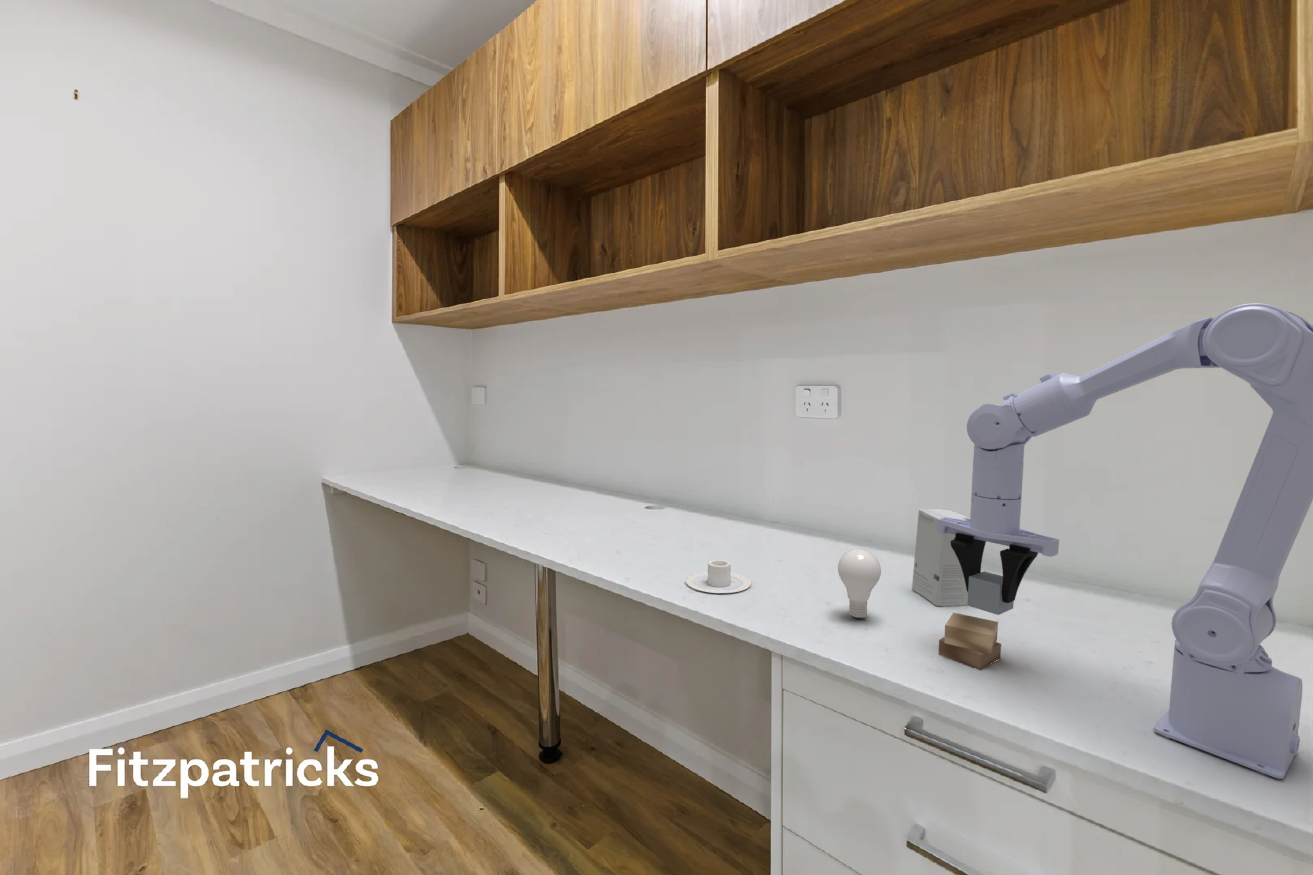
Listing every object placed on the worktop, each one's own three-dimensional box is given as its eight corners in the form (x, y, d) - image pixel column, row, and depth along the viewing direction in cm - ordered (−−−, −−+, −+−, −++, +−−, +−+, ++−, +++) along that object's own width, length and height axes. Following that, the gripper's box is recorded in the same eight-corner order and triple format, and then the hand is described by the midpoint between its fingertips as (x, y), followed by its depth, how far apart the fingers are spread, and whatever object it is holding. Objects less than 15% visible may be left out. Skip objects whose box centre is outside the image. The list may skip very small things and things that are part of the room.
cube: (1013, 608, 79) (1014, 579, 78) (998, 615, 76) (1000, 585, 76) (982, 599, 82) (984, 571, 82) (967, 605, 80) (969, 576, 79)
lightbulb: (871, 629, 88) (874, 558, 87) (830, 619, 92) (832, 550, 91) (884, 616, 94) (886, 548, 92) (844, 607, 97) (846, 541, 96)
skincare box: (911, 590, 105) (914, 508, 104) (943, 589, 106) (947, 507, 105) (938, 608, 97) (942, 519, 96) (972, 606, 98) (977, 518, 96)
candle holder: (672, 584, 110) (672, 561, 110) (717, 570, 118) (717, 549, 117) (718, 602, 101) (719, 577, 100) (764, 586, 108) (765, 563, 108)
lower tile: (1000, 661, 79) (1001, 643, 79) (979, 673, 76) (980, 654, 76) (959, 646, 84) (960, 629, 83) (938, 657, 81) (939, 639, 80)
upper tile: (997, 639, 80) (998, 621, 80) (991, 654, 76) (991, 635, 76) (952, 629, 84) (953, 612, 83) (944, 642, 79) (945, 624, 79)
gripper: (1072, 501, 74) (1064, 606, 75) (957, 484, 86) (952, 575, 87) (1047, 508, 70) (1039, 618, 71) (930, 489, 82) (926, 584, 83)
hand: (990, 595), depth 79 cm, fingers closed on cube, 4 cm apart
